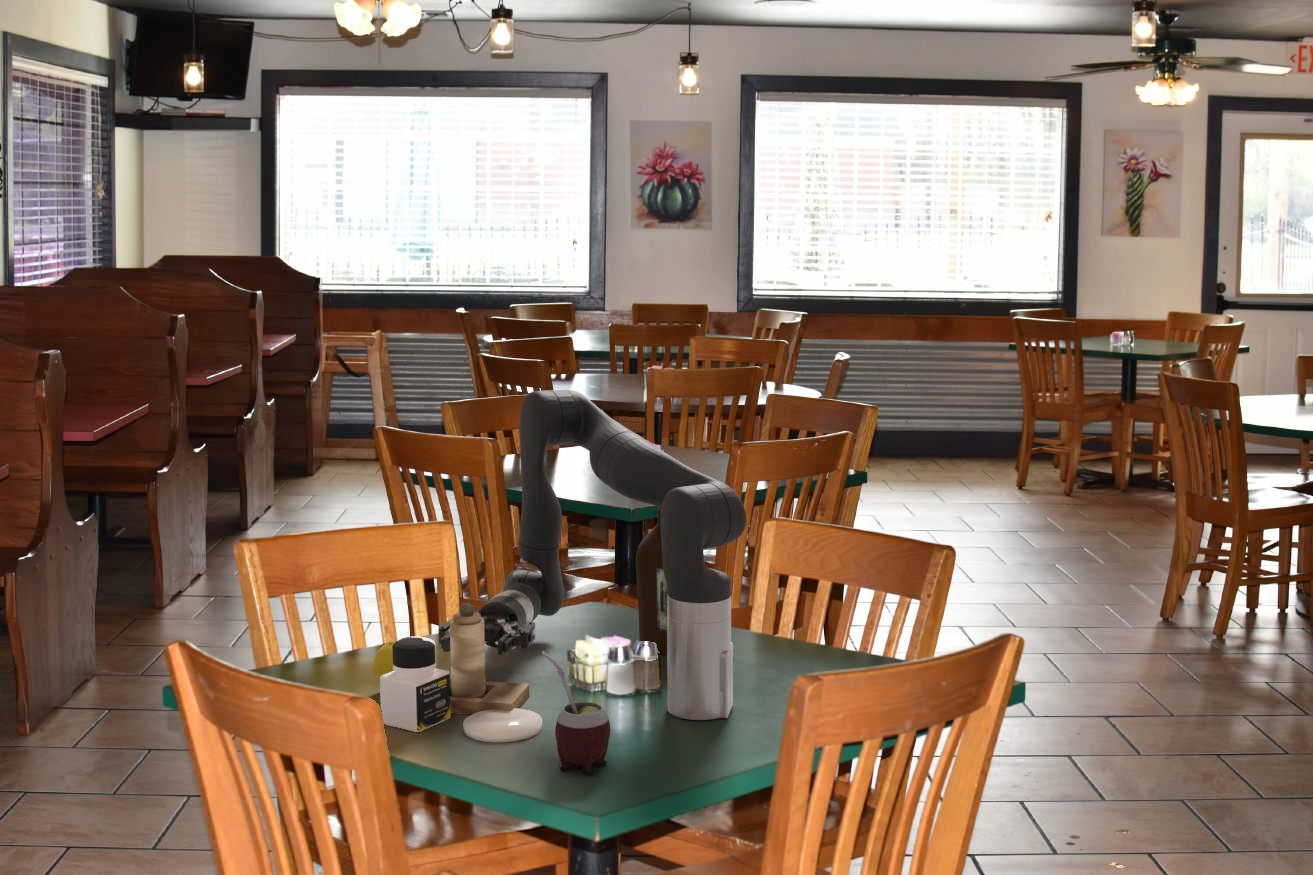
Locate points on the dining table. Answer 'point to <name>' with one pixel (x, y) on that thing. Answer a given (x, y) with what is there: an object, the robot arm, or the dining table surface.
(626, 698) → the dining table surface
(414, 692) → the medicine bottle
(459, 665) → the pepper mill
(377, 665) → the lemon
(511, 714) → the saucer
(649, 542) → the olive oil
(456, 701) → the frame
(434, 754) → the dining table surface
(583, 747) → the mate gourd
